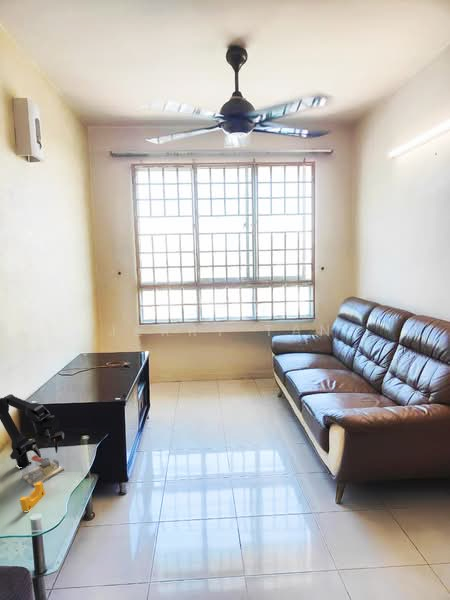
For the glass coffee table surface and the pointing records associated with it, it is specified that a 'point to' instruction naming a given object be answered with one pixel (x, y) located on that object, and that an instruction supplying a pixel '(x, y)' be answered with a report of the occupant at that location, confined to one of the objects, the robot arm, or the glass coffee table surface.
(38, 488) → the pipe clamp
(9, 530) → the glass coffee table surface
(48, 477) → the board
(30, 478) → the valve body
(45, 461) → the lever
